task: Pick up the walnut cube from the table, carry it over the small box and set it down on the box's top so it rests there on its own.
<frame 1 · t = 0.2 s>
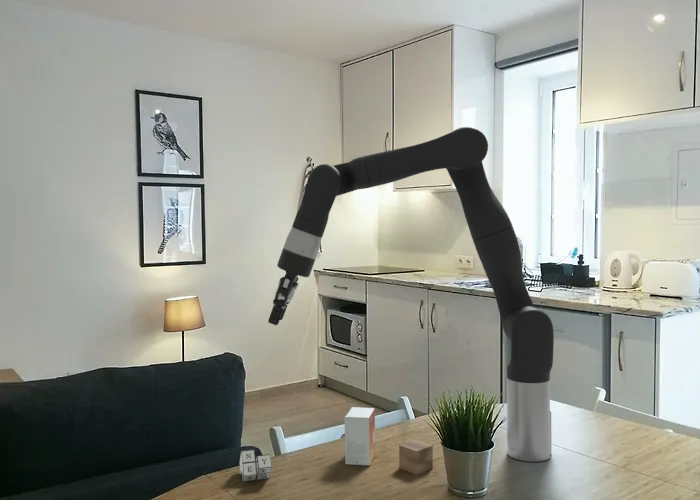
hand: (275, 321, 134), 31 cm above the table, tool tilted 20°, fingers open, 8 cm apart
small box: (360, 460, 135), on the table
building blocks: (255, 479, 125), on the table
walnut cube: (416, 468, 129), on the table
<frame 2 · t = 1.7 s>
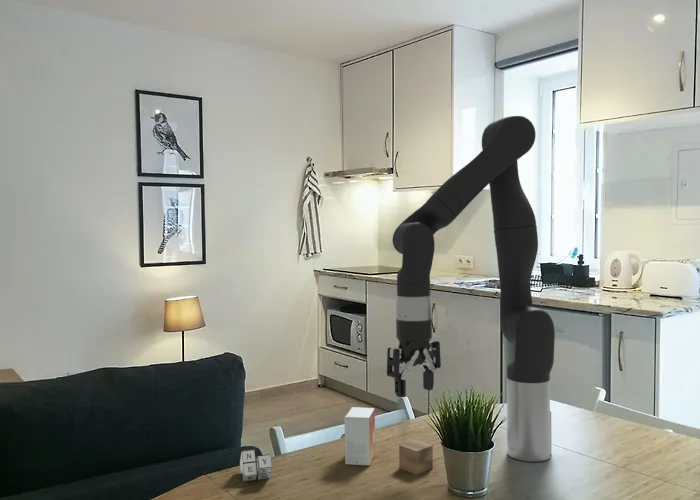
hand: (414, 393, 129), 16 cm above the table, tool pointing down, fingers open, 8 cm apart
nothing on the table moved.
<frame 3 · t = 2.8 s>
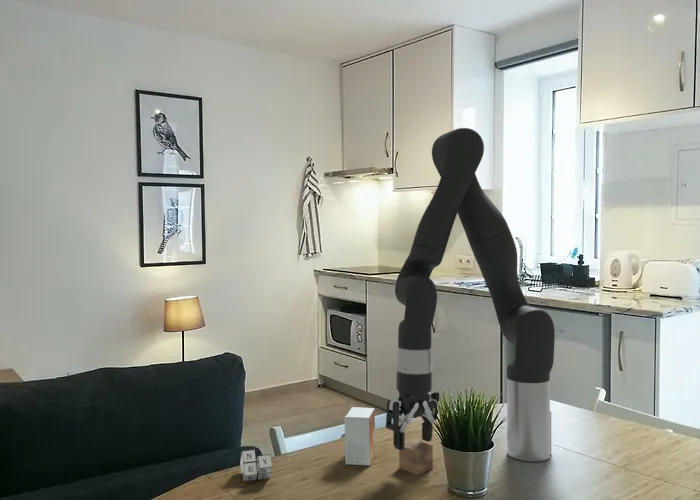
hand: (413, 444, 129), 5 cm above the table, tool pointing down, fingers open, 8 cm apart
nothing on the table moved.
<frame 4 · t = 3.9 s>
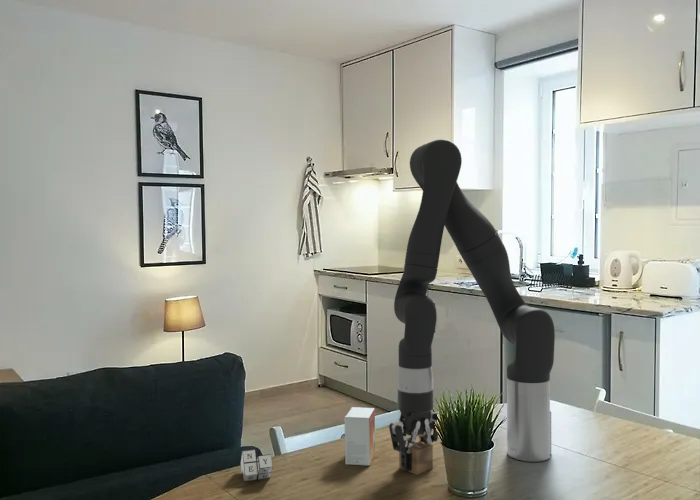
hand: (416, 465, 129), 0 cm above the table, tool pointing down, fingers closed on walnut cube, 5 cm apart
walnut cube: (416, 468, 129), on the table, touching gripper
everything else where it was.
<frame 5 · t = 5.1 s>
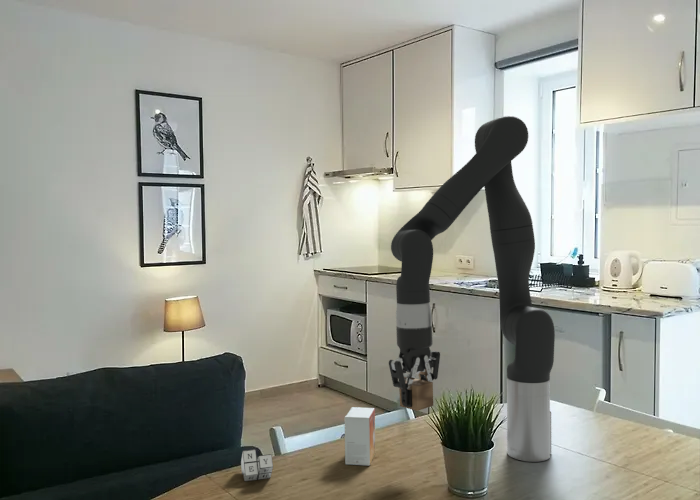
hand: (416, 403, 129), 14 cm above the table, tool pointing down, fingers closed on walnut cube, 5 cm apart
walnut cube: (416, 405, 129), point 13 cm above the table, touching gripper
everything else where it was.
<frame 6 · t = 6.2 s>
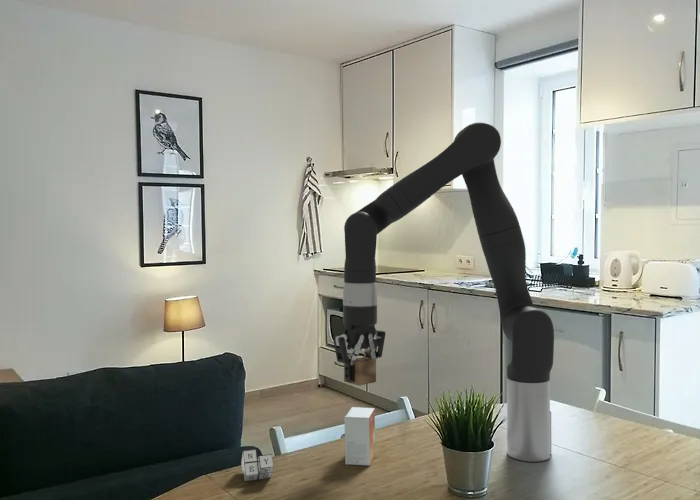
hand: (359, 379, 134), 18 cm above the table, tool pointing down, fingers closed on walnut cube, 5 cm apart
walnut cube: (359, 381, 134), point 17 cm above the table, touching gripper
everything else where it was.
when the fingers open (12 cm above the table, at t = 7.6 s): walnut cube drops 1 cm, resting on small box.
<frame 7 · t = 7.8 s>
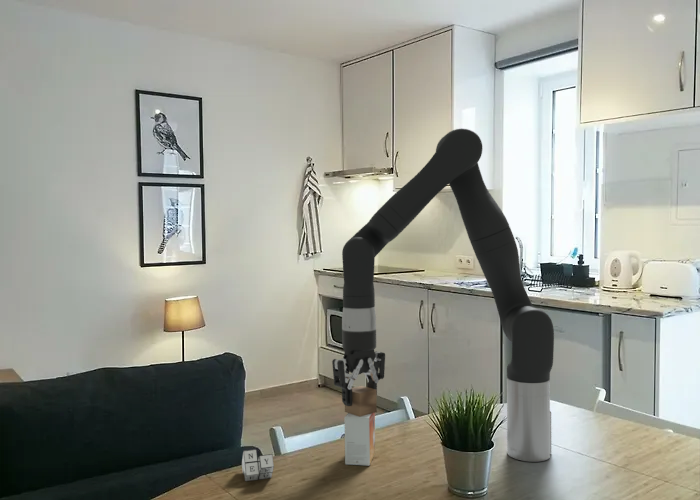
hand: (360, 402, 134), 13 cm above the table, tool pointing down, fingers open, 6 cm apart
small box: (360, 460, 135), on the table, touching walnut cube
walnut cube: (360, 411, 135), point 10 cm above the table, touching small box
everything else where it was.
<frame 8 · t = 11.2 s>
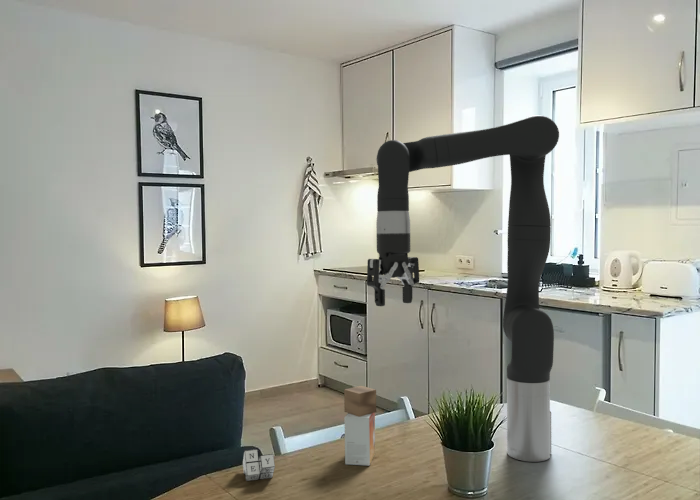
hand: (394, 304, 136), 34 cm above the table, tool pointing down, fingers open, 8 cm apart
nothing on the table moved.
at the end: walnut cube inside the target area on the small box (0.1 cm from its centre), point 10.7 cm above the small box's base; walnut cube tilted 0°; the gripper is holding nothing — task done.
